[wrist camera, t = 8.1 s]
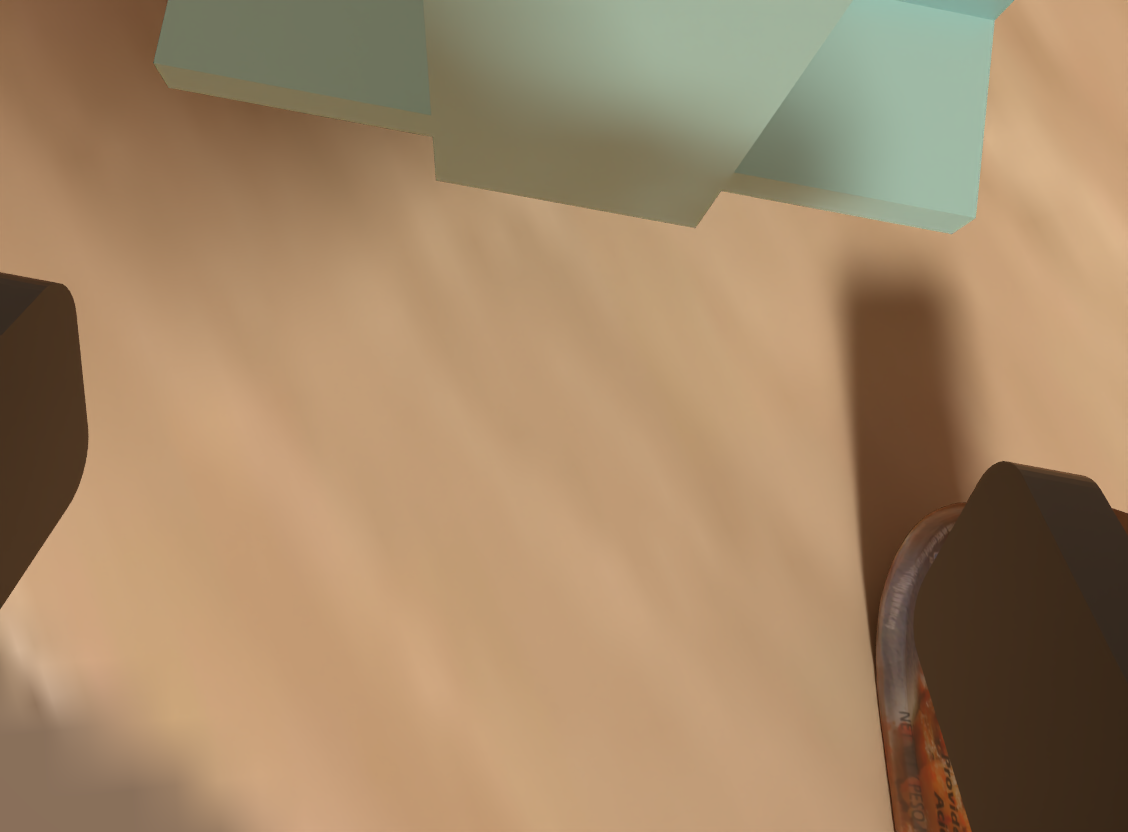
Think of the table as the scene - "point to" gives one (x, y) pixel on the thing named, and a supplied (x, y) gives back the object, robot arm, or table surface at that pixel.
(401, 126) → the lid
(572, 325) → the table surface
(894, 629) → the tin
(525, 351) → the table surface
